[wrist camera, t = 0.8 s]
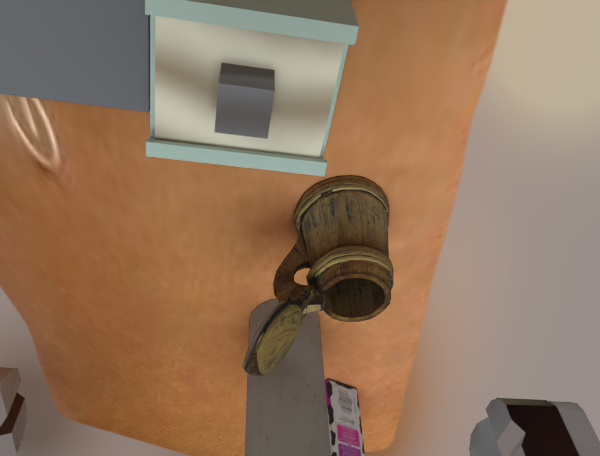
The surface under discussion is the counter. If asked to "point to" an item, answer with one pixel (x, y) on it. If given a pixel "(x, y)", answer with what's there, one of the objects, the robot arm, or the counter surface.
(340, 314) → the wooden mug
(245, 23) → the box
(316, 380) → the thermos bottle
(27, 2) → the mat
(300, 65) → the cover lid
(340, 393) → the candy bar box
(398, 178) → the counter surface
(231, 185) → the counter surface
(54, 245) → the counter surface
